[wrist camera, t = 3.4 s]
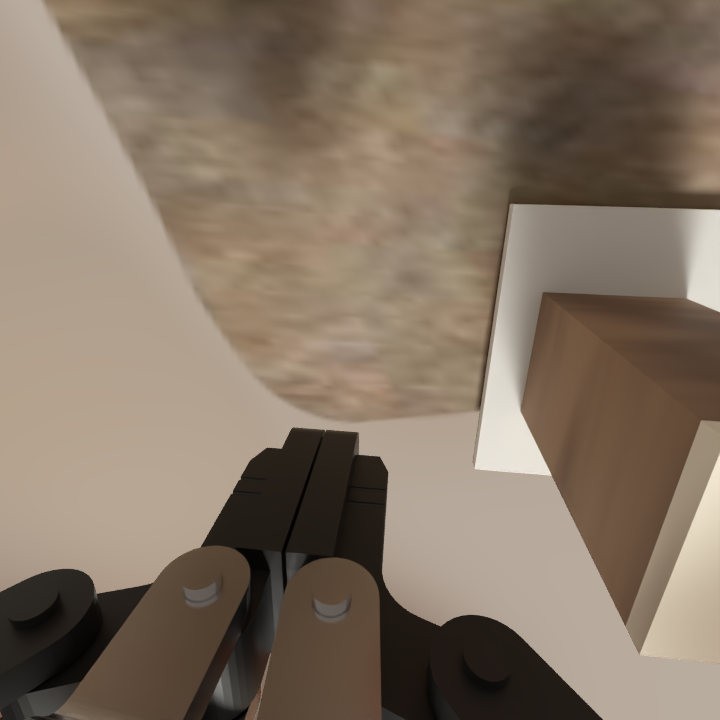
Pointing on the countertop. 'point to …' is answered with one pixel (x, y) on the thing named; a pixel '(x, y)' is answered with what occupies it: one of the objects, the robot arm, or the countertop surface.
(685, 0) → the countertop surface
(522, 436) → the mat
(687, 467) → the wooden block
